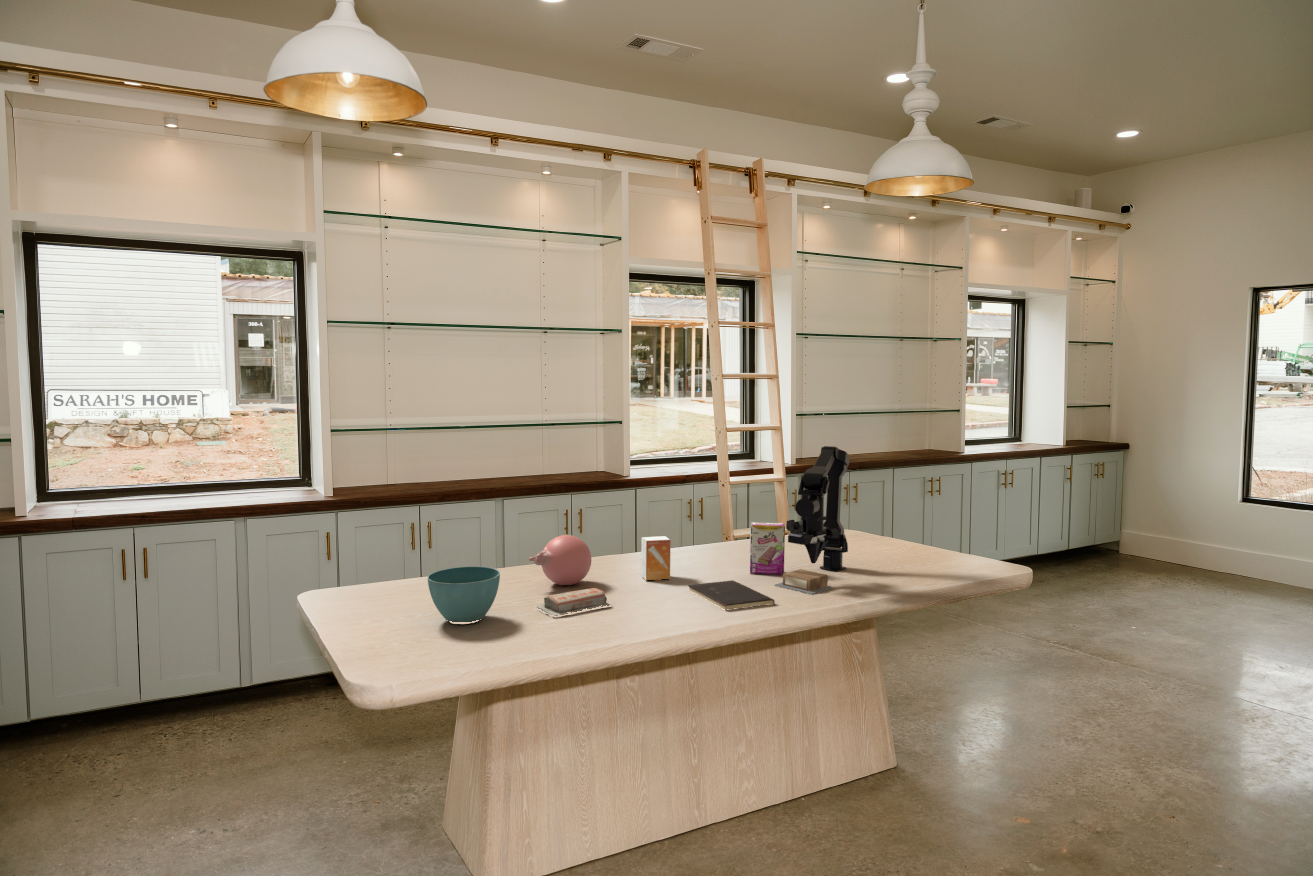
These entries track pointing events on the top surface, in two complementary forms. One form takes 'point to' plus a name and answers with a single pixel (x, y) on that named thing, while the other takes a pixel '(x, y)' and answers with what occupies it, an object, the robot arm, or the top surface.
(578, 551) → the balloon
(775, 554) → the candy bar box
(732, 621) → the top surface
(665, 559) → the small box
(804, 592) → the grey rubber mat
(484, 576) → the teal bowl
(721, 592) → the hardcover book
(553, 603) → the packaged product
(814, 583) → the walnut slab
